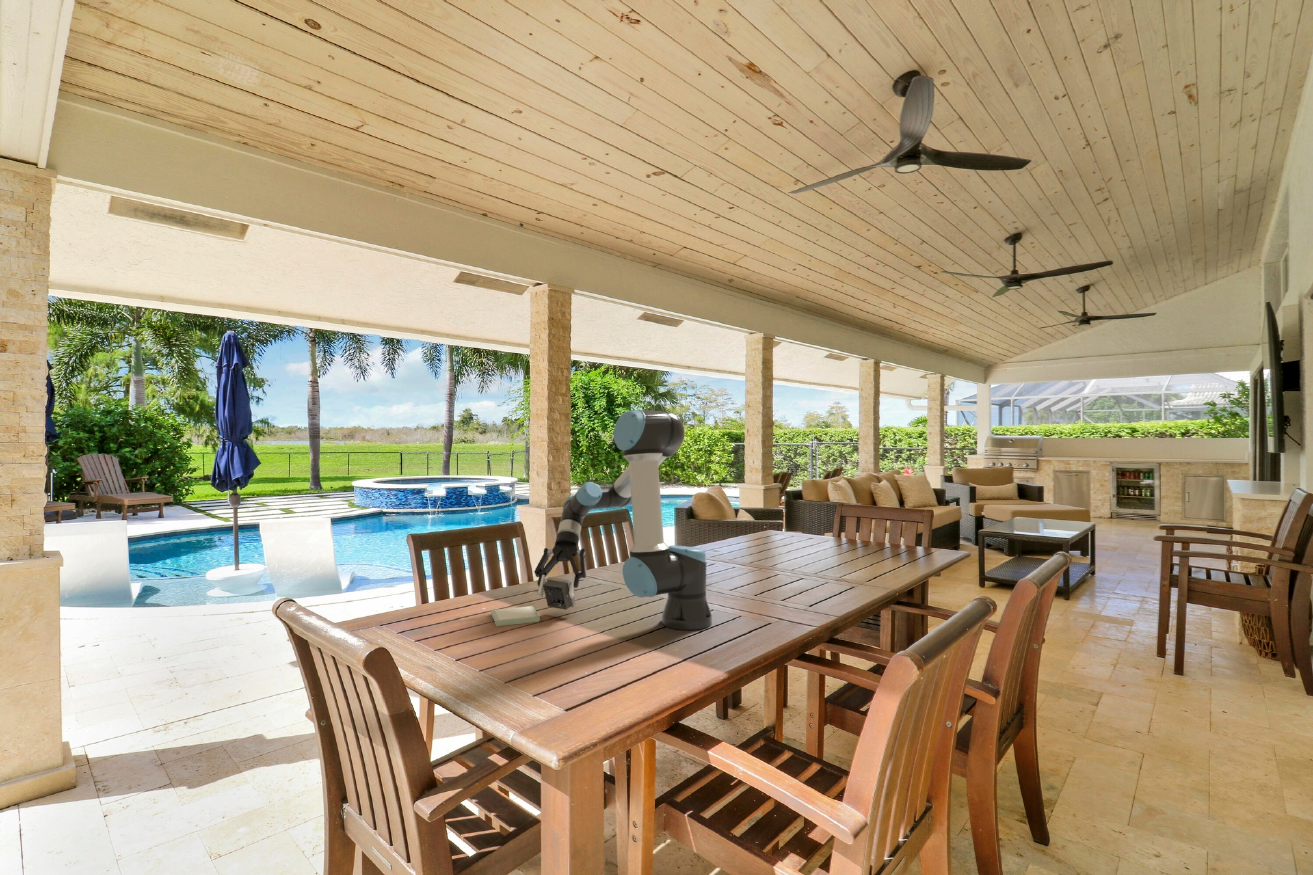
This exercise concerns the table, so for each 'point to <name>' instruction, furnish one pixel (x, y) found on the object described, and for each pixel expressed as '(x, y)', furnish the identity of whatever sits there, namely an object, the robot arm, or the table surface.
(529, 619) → the board
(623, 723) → the table surface
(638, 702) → the table surface
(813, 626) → the table surface
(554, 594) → the electrical switch
